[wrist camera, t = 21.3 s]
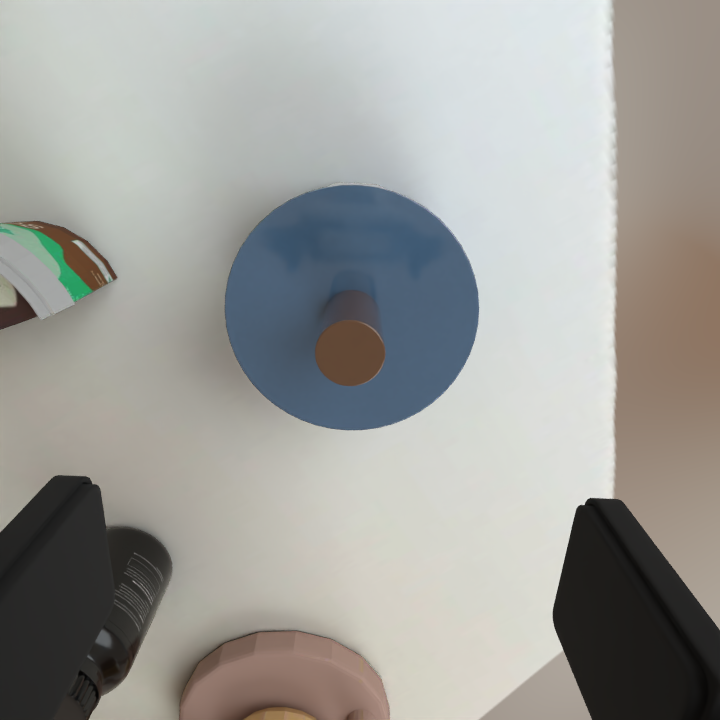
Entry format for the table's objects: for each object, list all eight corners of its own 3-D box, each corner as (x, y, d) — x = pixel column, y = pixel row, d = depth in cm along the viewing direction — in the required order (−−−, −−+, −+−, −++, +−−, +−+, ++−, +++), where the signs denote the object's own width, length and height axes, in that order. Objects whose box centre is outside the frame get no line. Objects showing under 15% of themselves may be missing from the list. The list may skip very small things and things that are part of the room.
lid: (225, 176, 25) (184, 182, 19) (490, 190, 25) (529, 201, 19) (233, 415, 29) (202, 479, 23) (459, 426, 29) (483, 492, 23)
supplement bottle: (78, 521, 40) (-33, 666, 29) (170, 524, 40) (96, 669, 29) (91, 594, 42) (-6, 753, 31) (178, 596, 42) (113, 756, 31)
